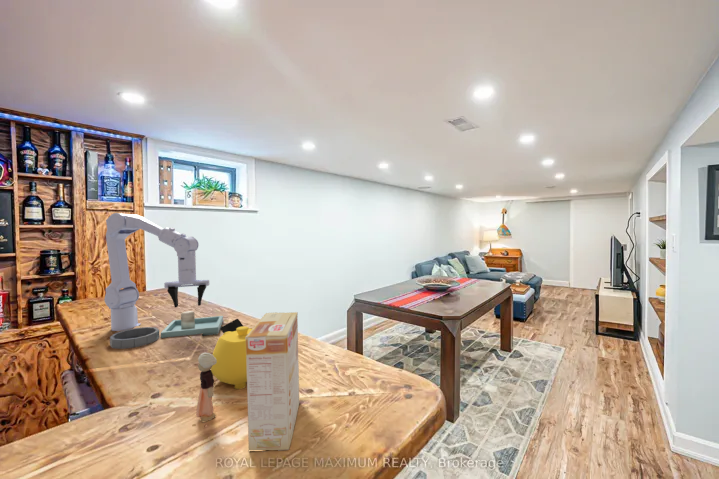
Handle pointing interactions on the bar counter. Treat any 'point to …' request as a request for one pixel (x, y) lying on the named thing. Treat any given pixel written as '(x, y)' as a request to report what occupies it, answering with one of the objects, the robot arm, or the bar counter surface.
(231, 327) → the handheld gaming console
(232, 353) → the teapot
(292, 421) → the coffeecake box
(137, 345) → the grey rounded shallow piece
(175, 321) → the tray
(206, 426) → the bar counter surface
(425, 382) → the bar counter surface
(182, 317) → the cylinder
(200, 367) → the grandmother figurine
